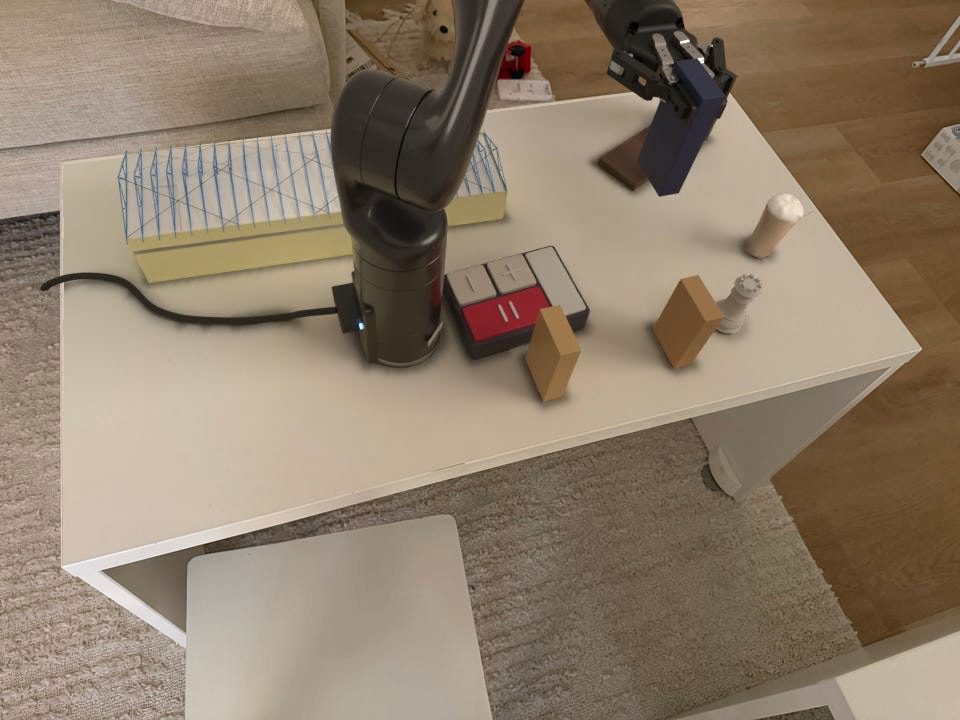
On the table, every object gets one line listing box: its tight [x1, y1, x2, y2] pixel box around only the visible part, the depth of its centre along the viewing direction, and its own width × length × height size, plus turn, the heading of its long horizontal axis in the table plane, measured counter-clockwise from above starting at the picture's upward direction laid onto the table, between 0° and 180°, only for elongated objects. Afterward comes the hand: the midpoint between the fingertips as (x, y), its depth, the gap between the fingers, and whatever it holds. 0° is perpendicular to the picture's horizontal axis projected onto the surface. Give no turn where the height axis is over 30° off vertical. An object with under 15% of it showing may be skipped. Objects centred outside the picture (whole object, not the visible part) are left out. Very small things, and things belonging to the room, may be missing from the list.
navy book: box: [637, 59, 725, 198], centre depth 71 cm, size 3×6×13 cm, turn 18°
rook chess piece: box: [715, 273, 763, 334], centre depth 81 cm, size 4×4×8 cm
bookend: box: [597, 68, 738, 192], centre depth 95 cm, size 18×7×11 cm, turn 133°
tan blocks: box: [524, 274, 724, 402], centre depth 75 cm, size 19×6×10 cm, turn 108°
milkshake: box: [745, 192, 814, 259], centre depth 87 cm, size 4×5×10 cm
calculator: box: [443, 245, 591, 360], centre depth 80 cm, size 11×4×15 cm
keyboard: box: [117, 131, 509, 284], centre depth 83 cm, size 45×15×10 cm, turn 105°
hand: (706, 113), depth 66 cm, fingers closed on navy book, 2 cm apart
